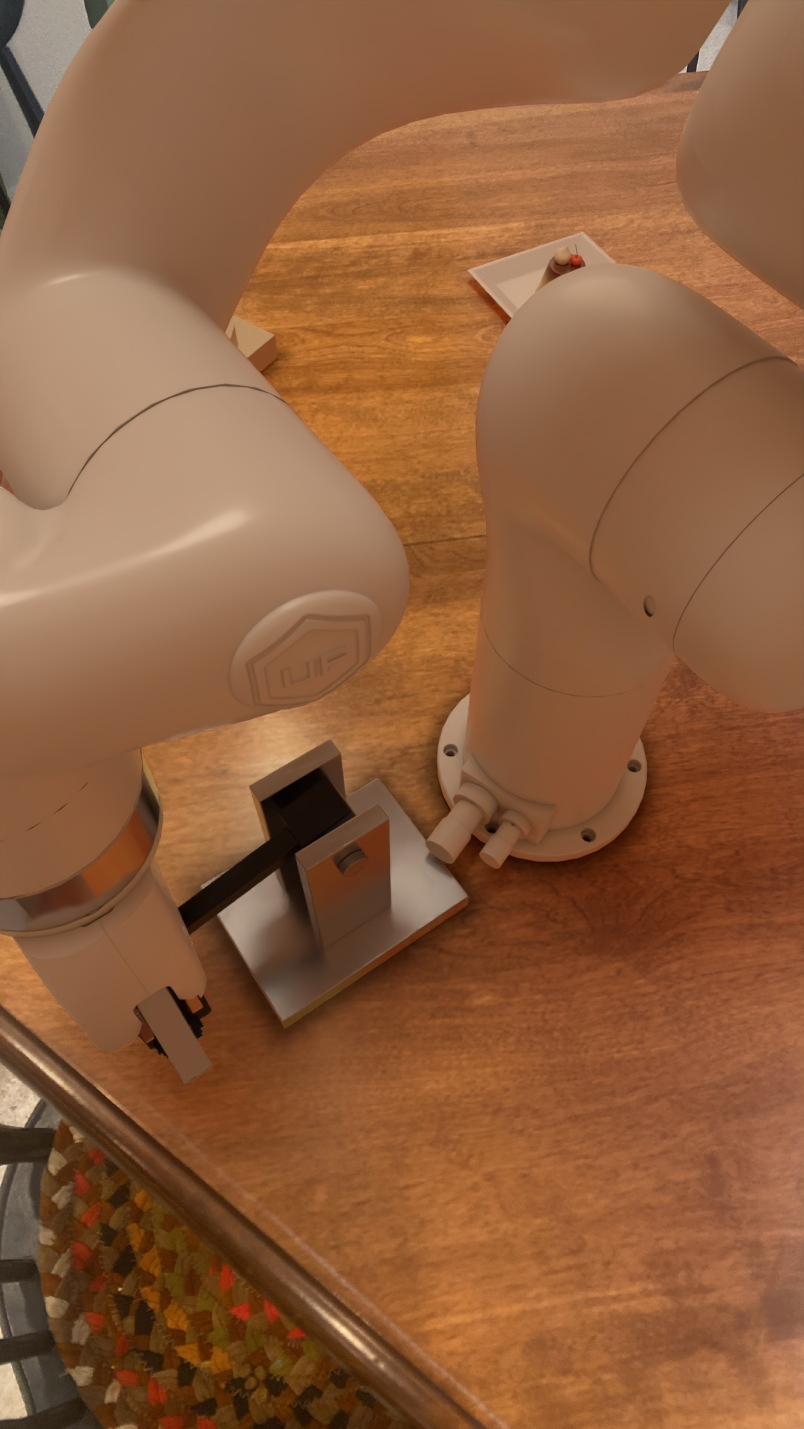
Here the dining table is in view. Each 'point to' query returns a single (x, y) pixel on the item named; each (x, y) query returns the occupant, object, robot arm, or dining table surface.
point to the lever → (271, 851)
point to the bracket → (335, 892)
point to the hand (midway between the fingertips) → (150, 973)
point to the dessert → (536, 269)
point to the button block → (253, 342)
